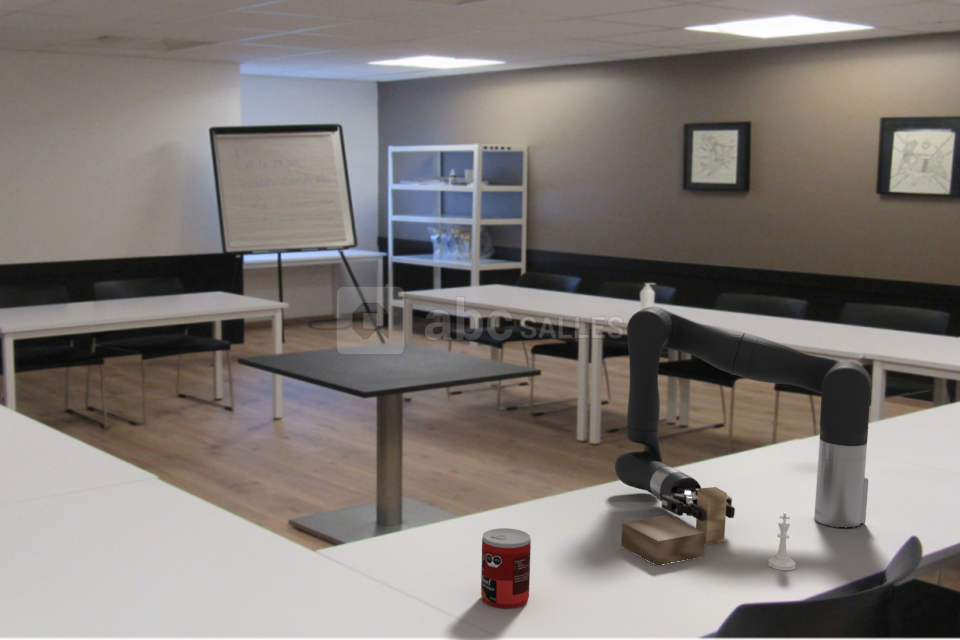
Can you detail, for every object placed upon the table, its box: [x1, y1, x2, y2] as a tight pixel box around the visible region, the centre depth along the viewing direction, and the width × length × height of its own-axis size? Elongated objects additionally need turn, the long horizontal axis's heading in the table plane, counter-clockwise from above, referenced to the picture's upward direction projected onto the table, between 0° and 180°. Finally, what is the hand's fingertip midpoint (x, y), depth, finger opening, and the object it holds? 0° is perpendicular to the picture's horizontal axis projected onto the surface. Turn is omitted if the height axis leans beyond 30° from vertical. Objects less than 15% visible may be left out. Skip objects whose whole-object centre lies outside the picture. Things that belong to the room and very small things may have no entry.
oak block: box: [695, 486, 728, 546], centre depth 193 cm, size 4×4×10 cm
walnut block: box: [620, 514, 706, 566], centre depth 187 cm, size 11×11×5 cm
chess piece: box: [767, 511, 796, 571], centre depth 181 cm, size 5×5×10 cm
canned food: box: [480, 527, 532, 609], centre depth 163 cm, size 8×8×11 cm
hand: (717, 514), depth 191 cm, fingers open, 5 cm apart
